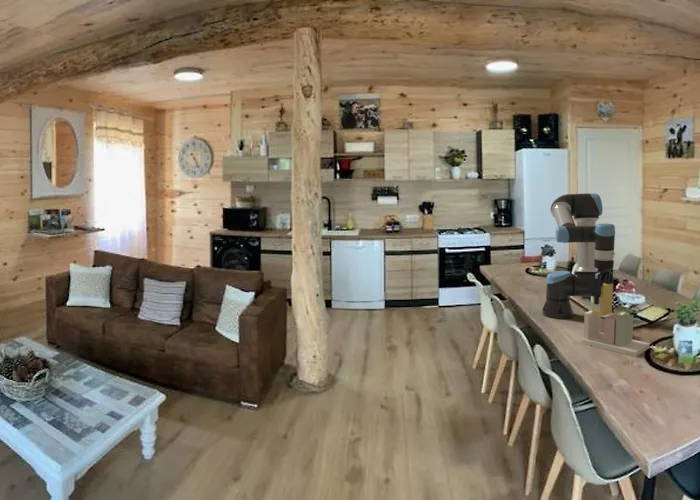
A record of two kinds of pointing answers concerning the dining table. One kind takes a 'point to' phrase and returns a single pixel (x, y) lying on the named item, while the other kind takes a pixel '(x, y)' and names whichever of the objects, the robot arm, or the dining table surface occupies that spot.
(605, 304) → the book
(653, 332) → the dining table surface
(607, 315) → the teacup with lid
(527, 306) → the dining table surface
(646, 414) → the dining table surface
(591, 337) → the block stand tray
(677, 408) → the dining table surface
